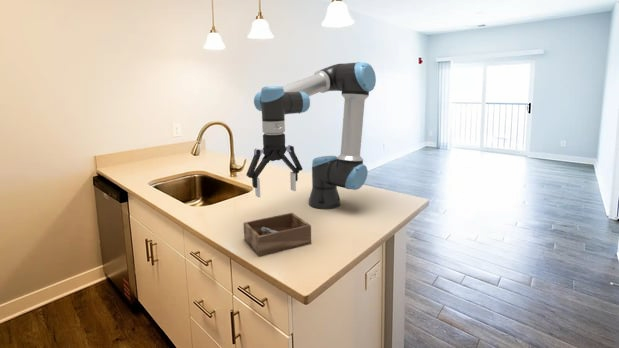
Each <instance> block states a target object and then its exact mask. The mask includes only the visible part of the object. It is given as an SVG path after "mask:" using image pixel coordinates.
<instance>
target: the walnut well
mask: <svg viewBox="0 0 619 348" xmlns="http://www.w3.org/2000/svg"><path fill="white" fill-rule="evenodd" d="M262 227H265V228H269V229H271V230H275V231H278V232H275V233H270V234H266V235H262V234H263V232H262V231H261V228H262ZM243 238H244V239H243V240H244V242H245V243H246V244H247V245H248V246H249V247H250V249H251V250H253V252H254V253H255V254H256V255H257V256H258V257H259V258H260V257H265V256H267V255H272V254H276V253H279V252H284V251H287V250H292V249H296V248H299V247H303V246H306V245H310V244H312V225H311V224H309V223H308V222H306V221H305V220H304V219H303V218H301V217H299V216H298V215H297V214H295V213H293V212H289V213H284V214H279V215H274V216H268V217H265V218H260V219H255V220H249V221H244V222H243Z"/></svg>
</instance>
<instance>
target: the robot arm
mask: <svg viewBox="0 0 619 348" xmlns="http://www.w3.org/2000/svg"><path fill="white" fill-rule="evenodd" d="M376 82H377V78H376V73H375V70H374V67H373V66H372V65H371V64H370V63H368V62H359V61H358V62H347V63H337V64H331V65H330V66H327V67H324V68H322V69H320V70H317V71H315V72H314V73H313V75H310V76H307V77H304V78H302V79H298V80H295V81H293V82H291V83H288V84H285V85H282V86H263V87H262V88H261V90H260V91H258V92H257V93H256V94H255V95H254V98H253V104H254V107H255V109H256V110H257V111H259V112H261V121H262V125H261V126H262V128H261V129H262V133H263V134H262V144H263V145H262V146H263V148H262V149H260V148H259V149H258V148H255V149H253V156H252V157H253V158H252V159H251V162H250V164H249V166H248V169H247V172H246V173H245V174H246V175H245V176H246V177H248V178H250V179H251V181H252V183H251V184H252V187H253V188H254V191H255V196H256V197H257V198H261V182H260V178H259V176H260V175H261V173H262V172H263V171H264V169H265V167H266V166H267V165H268V164H269V163H270V162H275V161H283V163H284V164H285V165H286V166H287V167H288V168H289V169H290V170H291V171H290V173H289V176H290V181H289V182H290V190H291V191H293V192H296V191H297V186H296V185H297V184H296V183H297V182H298V179H299V178H298V176H299V175H298V174H300V171H303V166H302V165H301V162H300V160H299V158H298V157H297V155H296V153H295V148H294V145H290V144H289V145H287V146H286V134H285V131H286V125H285V123H286V122H285V121H286V119H285V117H286V115H292V114H293V115H294V114H302V113H305V112H308V110H309V108H310V106H311V99H310V97H311V96H314V95H316V94H318V93H322V94H324V93H326V92H327V93H328V92H333V91H334V92H339V91H340V92H341V96H342V97H343V100H344V103H343V104H344V105H343V118H342V131H341V145H340V146H341V147H340V154H339V155H338V156H337V155H323V156H318V157H314V158H313V159H312V162H311V164H312V166H311V179H312V181H311V183H312V185H311V186H312V187H311V188H312V189H311V192H310V195H309V198H308V205H309V206H310V207H312V208H314V209H321V210H326V209H327V210H328V209H335V208H337V207H340V205H341V197H340V194H339V192H338V188H337V187H340V188H343V189H346V190H353V191H358V190H359V189H360V188H362V187H363V186H364V184H365V183H366V180H367V177H368V172H369V171H368V168H367V166H366V165H365V164H364V158H362V156H361V148H362V139H363V138H362V137H363V136H362V135H363V125H364V115H365V114H364V113H365V112H364V111H365V102H366V99H367V98H369V97H370V92H372V91H373V90H374V89H375V86H376ZM286 152H288V155H289V156H290V159H291V160H292V162H293V163H292V162H291V161H290V159H289V158H288V157H287V156H286V155H285V154H286ZM262 154H263V157H262V159H261V156H262ZM260 159H261V160H260ZM259 161H260V163H259ZM258 163H259V164H258Z"/></svg>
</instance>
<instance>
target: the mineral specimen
mask: <svg viewBox="0 0 619 348" xmlns="http://www.w3.org/2000/svg"><path fill="white" fill-rule="evenodd" d="M261 231H262V232H263V234H262V235H266V234H270V233H275V232H278V231H275V230H271V229H269V228H265V227H262V228H261Z"/></svg>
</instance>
